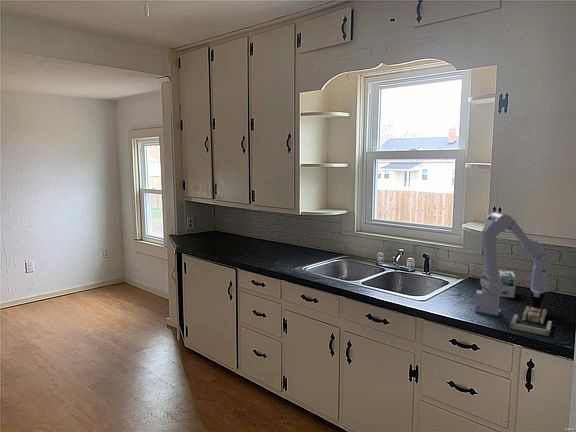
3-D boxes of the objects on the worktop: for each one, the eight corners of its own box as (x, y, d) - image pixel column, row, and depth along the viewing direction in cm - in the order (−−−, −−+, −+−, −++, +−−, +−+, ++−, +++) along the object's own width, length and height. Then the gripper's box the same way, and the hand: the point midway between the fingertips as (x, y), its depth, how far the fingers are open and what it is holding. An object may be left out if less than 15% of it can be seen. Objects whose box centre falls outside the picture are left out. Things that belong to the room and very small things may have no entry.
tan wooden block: (527, 321, 180) (527, 314, 179) (528, 318, 183) (529, 311, 183) (538, 323, 178) (538, 316, 177) (539, 320, 181) (539, 313, 180)
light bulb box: (514, 298, 207) (516, 276, 205) (499, 296, 209) (500, 275, 208) (512, 291, 217) (513, 271, 215) (497, 290, 219) (498, 269, 218)
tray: (509, 328, 172) (510, 323, 172) (514, 318, 182) (514, 314, 181) (548, 336, 165) (549, 331, 164) (551, 326, 174) (551, 321, 174)
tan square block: (528, 316, 185) (529, 309, 184) (530, 313, 188) (530, 307, 187) (539, 318, 182) (540, 311, 182) (540, 315, 186) (541, 309, 185)
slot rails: (522, 319, 180) (522, 314, 180) (526, 311, 190) (526, 305, 190) (543, 324, 176) (543, 318, 176) (545, 314, 186) (546, 309, 185)
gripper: (548, 284, 180) (545, 315, 182) (551, 276, 191) (548, 305, 193) (529, 281, 184) (526, 311, 186) (533, 273, 195) (530, 302, 197)
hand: (536, 308), depth 190 cm, fingers closed
